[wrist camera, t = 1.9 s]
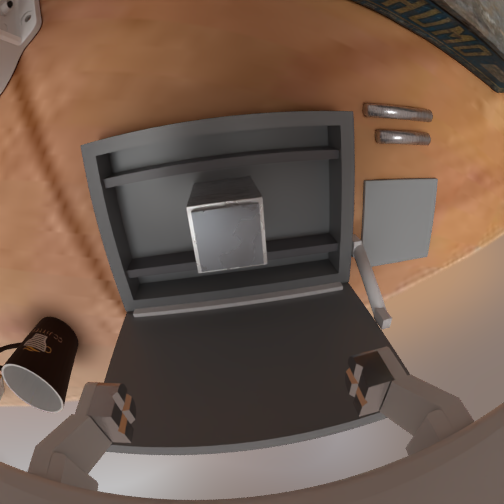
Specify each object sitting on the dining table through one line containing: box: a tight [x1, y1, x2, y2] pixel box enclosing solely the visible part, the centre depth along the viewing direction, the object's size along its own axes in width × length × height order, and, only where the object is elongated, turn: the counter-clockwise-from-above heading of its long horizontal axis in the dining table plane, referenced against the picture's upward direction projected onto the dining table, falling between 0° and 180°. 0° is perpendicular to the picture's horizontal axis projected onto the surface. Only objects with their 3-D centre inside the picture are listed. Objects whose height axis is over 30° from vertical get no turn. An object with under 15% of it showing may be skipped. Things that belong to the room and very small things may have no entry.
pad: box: [361, 178, 438, 267], centre depth 30 cm, size 10×10×1 cm
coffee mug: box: [0, 317, 78, 413], centre depth 27 cm, size 12×9×10 cm
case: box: [81, 111, 410, 455], centre depth 19 cm, size 17×23×18 cm
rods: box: [363, 103, 433, 145], centre depth 25 cm, size 4×8×1 cm, turn 95°
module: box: [186, 176, 267, 273], centre depth 23 cm, size 5×5×7 cm
